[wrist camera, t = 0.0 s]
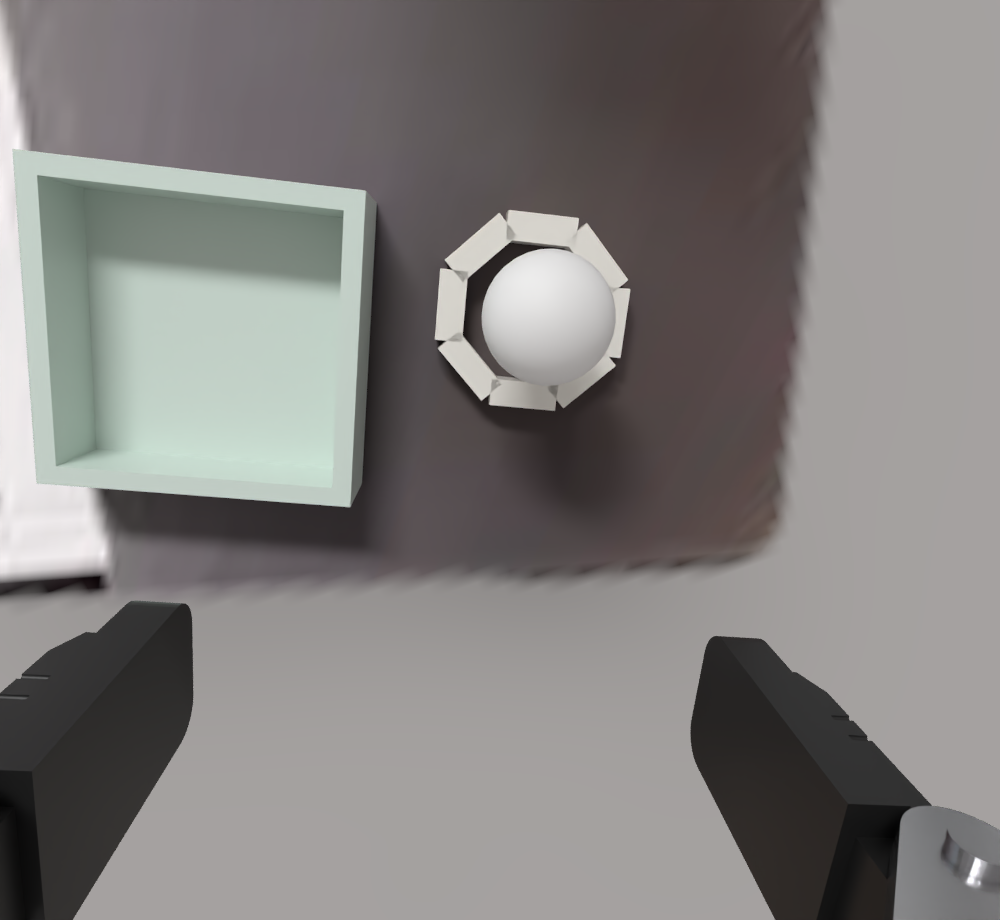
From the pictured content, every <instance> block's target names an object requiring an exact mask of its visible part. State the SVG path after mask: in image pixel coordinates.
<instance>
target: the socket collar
mask: <svg viewBox="0 0 1000 920" xmlns="http://www.w3.org/2000/svg"><path fill="white" fill-rule="evenodd" d="M578 221H579V218H573V217H564V216H556V215H547V214H539V213H530V212H522V211H513V210H508V212H507V213H506V221H505V219H504V218H503V217H502V215H501V214H500V213H499V214H498V215H496V216H495V217H494V218H493V219H492V220H491V221H489V222H488V223H487V224H486V225H485V226H484V227H482V228H481V229H480V230H479V231H478V232H477V233H475V234H474V235H473V236H472V237H471V238H470V239H468V240H467V241H466V242H465V243H464V244H463V245H461V246H460V247H459V248H458V249H457V250H456V251H454V252H453V253H452V254H451V255H450V256H449V257H448V258H446V259H445V262H446V263H447V264H448V265H449V267H450V268H451V269H452V270H450V269H441V268H440V280H439V293H438V306H437V319H436V332H435V340H443V341H444V342H443V343H442V344H441V345H439V346H438V349H439V351H440V352H441V353H442V354H443V355H444V357H445V358H446V359H447V360H448V361H449V363H450V364H451V365H452V366H453V367H454V369H455V370H456V371H457V372H458V373H459V375H460V376H461V377H462V378H463V379H464V381H465V382H466V383H467V384H468V385H469V387H470V388H471V389H472V390H473V391H474V393H475V394H476V395H477V396H478V397H479V398H480V400H481V401H482V400H483V399H484V398H485V397H487V396H488V402H489V405H496V406H507V407H518V408H529V409H540V410H551V411H555V407H556V400H557V402H558V403H559V404H560V405H561V406H562V407H563V408H564V407H566V406H567V405H568V404H569V403H571V402H572V401H573V400H574V399H576V398H577V397H578V396H579V395H580V394H582V393H583V392H584V391H585V390H587V389H588V388H589V387H590V386H592V385H593V384H594V383H595V382H597V381H598V380H599V379H600V378H602V377H603V376H604V375H605V374H607V373H608V372H609V371H610V370H611V369H613V368H614V367H615V364H614V363H613V362H612V360H611V359H610V358H609V357H615V358H621V351H622V344H623V337H624V330H625V323H626V316H627V310H628V303H629V296H630V289H625V288H619V287H620V286H622V285H623V284H624V283H625V282H627V281H628V279H627V278H626V276H625V275H624V273H623V272H622V271H621V269H620V268H619V267H618V265H617V264H616V262H615V261H614V260H613V258H612V257H611V256H610V254H609V253H608V251H607V250H606V249H605V247H604V246H603V244H602V243H601V242H600V240H599V239H598V238H597V236H596V235H595V233H594V232H593V231H592V229H591V228H590V227H589V225H588V224H587V223H586V224H584V225H582V226H581V227H580V228H579V229H578ZM509 243H519V244H527V245H536V246H545V247H554V248H563V249H565V250H566V251H569V252H572V253H574V254H577V255H579V256H581V257H582V258H584V259H586V260H587V261H589V262H590V263H591V264H592V265H593V266H594V267H595V268H596V269H597V270H598V271H599V272H600V273H601V274H602V276H603V277H604V279H605V280H606V282H607V283H608V285H609V288H610V290H611V293H612V295H613V299H614V304H615V309H616V323H615V329H614V334H613V337H612V340H611V342H610V345H609V348H608V349H607V351H606V352H605V354H604V356H603V357H602V359H601V360H600V361H599V362H598V363H597V364H596V365H595V366H594V367H593V368H592V369H591V370H590V371H588V372H587V373H586V374H584V375H583V376H581V377H579V378H577V379H575V380H573V381H571V382H567V383H563V384H560V385H550V386H542V385H535V384H530V383H528V382H525V381H522V380H519V379H518V378H514V377H504V376H496V375H495V374H494V372H493V371H492V370H491V369H490V367H489V366H488V365H487V364H486V363H485V361H484V360H483V359H482V358H481V356H480V355H479V354H478V353H477V352H476V350H475V349H474V348H473V347H472V345H471V344H470V343H469V342H468V341H467V339H466V338H465V337H464V336H463V325H464V314H465V302H466V291H467V279H468V278H469V277H470V276H471V275H472V274H473V273H475V272H476V271H477V270H478V269H479V268H480V267H482V266H483V265H484V264H485V263H486V262H487V261H489V260H490V259H491V258H492V257H493V256H495V255H496V254H497V253H498V252H499V251H500V250H502V249H503V248H504V247H505V246H506V245H507V244H509Z"/></svg>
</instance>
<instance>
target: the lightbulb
mask: <svg viewBox="0 0 1000 920" xmlns="http://www.w3.org/2000/svg"><path fill="white" fill-rule="evenodd" d="M615 323H616V309H615V304H614V299H613V295H612V293H611V290H610V288H609V285H608V283H607V282H606V280H605V279H604V277H603V276H602V274H601V273H600V272H599V271H598V270H597V269H596V268H595V267H594V266H593V265H592V264H591V263H590V262H589V261H587V260H586V259H584V258H582V257H581V256H579V255H577V254H574V253H572V252H569V251H566V250H560V249H539V250H535V251H531V252H527V253H525V254H523V255H521V256H519V257H517V258H515V259H514V260H512V261H511V262H510V263H508V264H507V265H506V266H504V267H503V268H502V270H501V271H500V272H499V273H498V274H497V275H496V276H495V278H494V279H493V281H492V283H491V284H490V286H489V288H488V290H487V293H486V296H485V299H484V302H483V308H482V329H483V333H484V337H485V341H486V343H487V345H488V348H489V350H490V352H491V354H492V355H493V357H494V358H495V359H496V361H497V362H498V363H499V365H500V366H502V367H503V368H504V369H505V370H506V371H507V372H508V373H509V374H511V375H513V376H514V377H516V378H518V379H519V380H522V381H525V382H528V383H530V384H535V385H542V386H550V385H560V384H563V383H567V382H571V381H573V380H575V379H577V378H579V377H581V376H583V375H584V374H586V373H587V372H588V371H590V370H591V369H592V368H593V367H594V366H595V365H596V364H597V363H598V362H599V361H600V360H601V359H602V357H603V356H604V354H605V352H606V351H607V349H608V348H609V345H610V342H611V340H612V337H613V334H614V329H615Z"/></svg>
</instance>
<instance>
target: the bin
mask: <svg viewBox="0 0 1000 920" xmlns="http://www.w3.org/2000/svg"><path fill="white" fill-rule="evenodd" d="M12 150H13V164H14V177H15V191H16V205H17V219H18V233H19V246H20V260H21V274H22V288H23V302H24V315H25V329H26V343H27V357H28V371H29V384H30V398H31V412H32V426H33V440H34V453H35V467H36V481H37V484H50V485H63V486H77V487H90V488H103V489H116V490H130V491H143V492H156V493H169V494H182V495H196V496H209V497H222V498H235V499H248V500H262V501H275V502H288V503H301V504H314V505H328V506H341V507H351V505H352V503H353V501H354V499H355V497H356V495H357V493H358V491H359V489H360V487H361V485H362V474H363V455H364V437H365V418H366V399H367V380H368V361H369V343H370V324H371V305H372V286H373V267H374V249H375V230H376V211H377V203H376V202H375V201H374V199H373V198H372V197H371V196H370V195H369V194H368V193H367V192H366V191H364V190H356V189H347V188H339V187H330V186H322V185H313V184H305V183H296V182H288V181H279V180H271V179H262V178H254V177H245V176H237V175H228V174H220V173H211V172H203V171H194V170H186V169H177V168H169V167H160V166H152V165H143V164H135V163H127V162H118V161H110V160H101V159H93V158H84V157H76V156H67V155H59V154H50V153H42V152H33V151H25V150H16V149H12Z"/></svg>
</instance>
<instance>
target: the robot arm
mask: <svg viewBox="0 0 1000 920" xmlns="http://www.w3.org/2000/svg"><path fill="white" fill-rule="evenodd" d="M192 705H193V649H192V616H191V611H190V608H189V606H188V605H187V604H182V603H165V602H149V601H131V602H129V603H128V604H126V605H125V606H124V607H123V608H122V609H121V610H120V611H119V612H118V613H117V614H116V615H115V616H114V617H113V618H112V619H110V620H109V621H108V622H107V623H106V624H105V625H104V626H103V627H102V628H101V629H100V630H99V631H98V632H97V633H90V632H85V633H83V634H81V635H80V636H77V637H75V638H73V639H71V640H69V641H67V642H65V643H63V644H62V645H59V646H57V647H55V648H53V649H51V650H50V651H48V652H47V653H46V654H44V655H43V656H42V657H41V658H40V659H39V660H37V661H36V662H35V663H34V664H33V665H32V666H31V667H29V668H28V669H27V670H26V671H25V672H24V673H23V674H22V677H21V679H16V680H15V681H14V682H13V683H11V684H10V685H9V686H8V687H7V688H5V689H4V690H3V691H2V692H1V693H0V920H73V918H74V917H75V915H76V913H77V912H78V910H79V909H80V907H81V905H82V904H83V902H84V900H85V899H86V897H87V895H88V894H89V892H90V891H91V889H92V887H93V886H94V884H95V882H96V881H97V879H98V877H99V876H100V874H101V873H102V871H103V869H104V868H105V866H106V864H107V862H108V861H109V860H110V858H111V856H112V854H113V853H114V851H115V850H116V848H117V847H118V845H119V843H120V842H121V840H122V838H123V837H124V835H125V833H126V832H127V830H128V829H129V827H130V825H131V824H132V822H133V820H134V819H135V817H136V815H137V814H138V812H139V811H140V809H141V807H142V806H143V804H144V802H145V801H146V799H147V797H148V796H149V794H150V793H151V791H152V789H153V788H154V786H155V784H156V783H157V781H158V780H159V778H160V776H161V775H162V773H163V771H164V770H165V768H166V767H167V765H168V763H169V762H170V760H171V758H172V757H173V755H174V753H175V752H176V750H177V749H178V747H179V745H180V744H181V742H182V740H183V738H184V736H185V733H186V731H187V727H188V725H189V721H190V717H191V712H192ZM691 746H692V752H693V755H694V759H695V762H696V764H697V767H698V769H699V771H700V772H701V775H702V777H703V778H704V780H705V782H706V784H707V786H708V788H709V790H710V792H711V794H712V796H713V798H714V800H715V802H716V804H717V806H718V808H719V810H720V812H721V814H722V816H723V818H724V820H725V822H726V824H727V826H728V827H729V830H730V831H731V833H732V836H733V838H734V839H735V841H736V843H737V845H738V847H739V849H740V851H741V853H742V855H743V857H744V859H745V861H746V863H747V865H748V867H749V869H750V871H751V873H752V875H753V877H754V879H755V881H756V883H757V885H758V887H759V889H760V891H761V893H762V894H763V897H764V898H765V900H766V902H767V904H768V906H769V908H770V910H771V912H772V914H773V916H774V918H775V920H1000V830H999V829H997V828H995V827H993V826H991V825H990V824H988V823H986V822H984V821H982V820H979V819H977V818H975V817H973V816H970V815H967V814H965V813H962V812H959V811H956V810H952V809H948V808H943V807H937V806H932V805H931V804H930V803H929V802H928V801H927V800H926V799H925V798H924V797H923V796H922V794H921V793H920V792H919V791H918V790H917V789H916V788H915V787H914V786H913V785H912V784H911V783H910V782H909V780H908V779H907V778H906V777H905V776H904V775H903V774H902V773H901V772H900V771H899V770H898V769H897V768H896V766H895V765H894V764H893V763H892V762H891V761H890V760H889V759H888V758H887V757H886V756H885V755H884V753H883V752H882V751H881V750H880V749H879V748H878V747H877V746H876V745H875V744H874V743H873V742H872V741H868V740H867V735H866V734H865V733H864V732H863V731H862V730H861V729H860V728H859V726H858V725H857V724H856V723H855V722H854V721H849V716H848V715H847V714H846V712H845V711H844V710H843V709H842V708H841V707H840V706H839V705H838V704H837V703H836V702H835V701H834V700H833V699H832V697H831V696H830V695H829V694H828V693H827V692H825V691H824V690H822V689H821V688H819V687H818V686H816V685H815V684H813V683H812V682H810V681H809V680H807V679H806V678H804V677H803V676H801V675H799V674H798V673H796V672H792V671H791V670H790V669H789V668H788V667H787V666H786V664H785V663H784V662H783V661H782V660H781V659H780V658H779V657H778V656H777V654H776V653H775V652H774V651H773V650H772V649H771V648H770V647H769V645H768V644H767V643H766V642H765V641H764V640H762V639H756V638H755V639H754V638H739V637H721V636H714V637H712V638H711V639H710V640H709V642H708V644H707V646H706V650H705V654H704V659H703V664H702V669H701V674H700V679H699V685H698V690H697V695H696V700H695V705H694V710H693V716H692V721H691Z"/></svg>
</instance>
